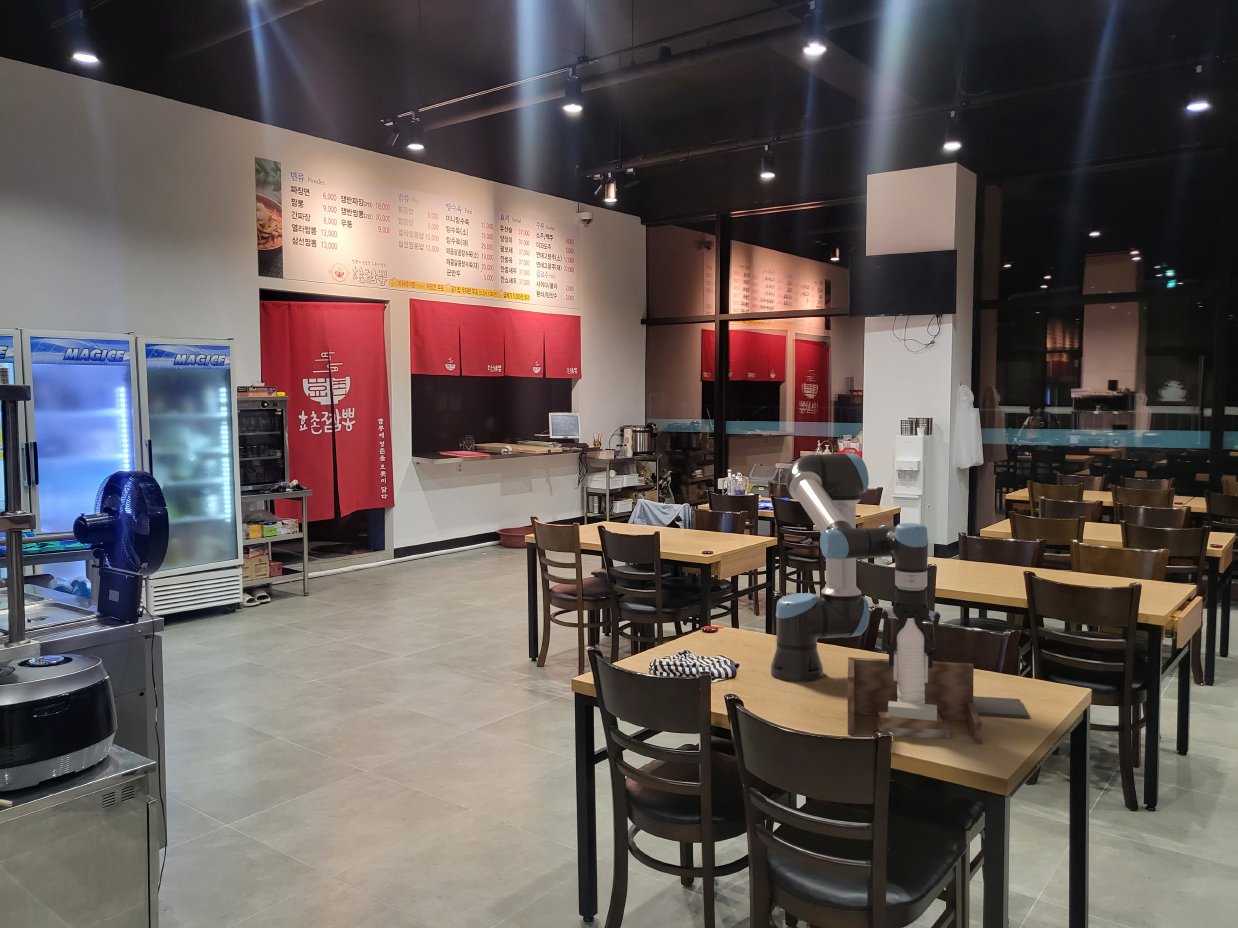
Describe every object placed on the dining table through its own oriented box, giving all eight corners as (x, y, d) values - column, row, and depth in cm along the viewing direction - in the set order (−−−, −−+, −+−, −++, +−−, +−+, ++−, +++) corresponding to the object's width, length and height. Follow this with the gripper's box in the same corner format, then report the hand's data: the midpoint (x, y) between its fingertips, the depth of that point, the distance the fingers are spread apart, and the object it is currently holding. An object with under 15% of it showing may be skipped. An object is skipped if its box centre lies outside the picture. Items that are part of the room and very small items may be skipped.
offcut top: (888, 716, 214) (888, 706, 214) (888, 711, 218) (888, 700, 218) (936, 720, 210) (936, 710, 210) (936, 715, 214) (936, 704, 214)
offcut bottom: (879, 737, 214) (879, 727, 214) (877, 731, 218) (877, 721, 218) (949, 740, 211) (949, 729, 211) (946, 734, 215) (946, 724, 215)
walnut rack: (847, 734, 215) (847, 676, 214) (848, 710, 232) (848, 657, 231) (981, 743, 207) (981, 684, 206) (972, 718, 224) (972, 663, 223)
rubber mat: (972, 714, 227) (972, 711, 227) (966, 698, 239) (966, 695, 239) (1028, 718, 224) (1028, 715, 223) (1019, 701, 236) (1019, 698, 236)
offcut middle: (880, 727, 214) (880, 717, 213) (878, 721, 218) (878, 711, 217) (941, 729, 212) (941, 718, 212) (938, 723, 216) (938, 713, 216)
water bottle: (931, 717, 219) (930, 617, 217) (912, 723, 216) (911, 621, 214) (903, 707, 227) (901, 610, 225) (884, 713, 223) (883, 614, 222)
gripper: (869, 588, 218) (869, 681, 219) (954, 592, 213) (954, 687, 214) (869, 582, 225) (869, 672, 226) (951, 585, 220) (950, 677, 221)
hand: (910, 679), depth 220 cm, fingers closed on water bottle, 6 cm apart
